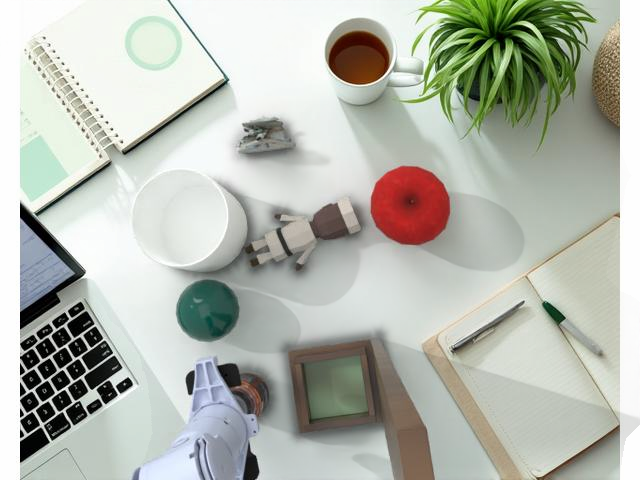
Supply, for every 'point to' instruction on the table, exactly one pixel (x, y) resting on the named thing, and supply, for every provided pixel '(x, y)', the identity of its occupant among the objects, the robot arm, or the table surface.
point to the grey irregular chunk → (264, 136)
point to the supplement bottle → (251, 394)
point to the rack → (361, 400)
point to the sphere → (207, 310)
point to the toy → (306, 233)
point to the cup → (188, 221)
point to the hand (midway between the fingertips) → (233, 408)
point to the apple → (410, 205)
